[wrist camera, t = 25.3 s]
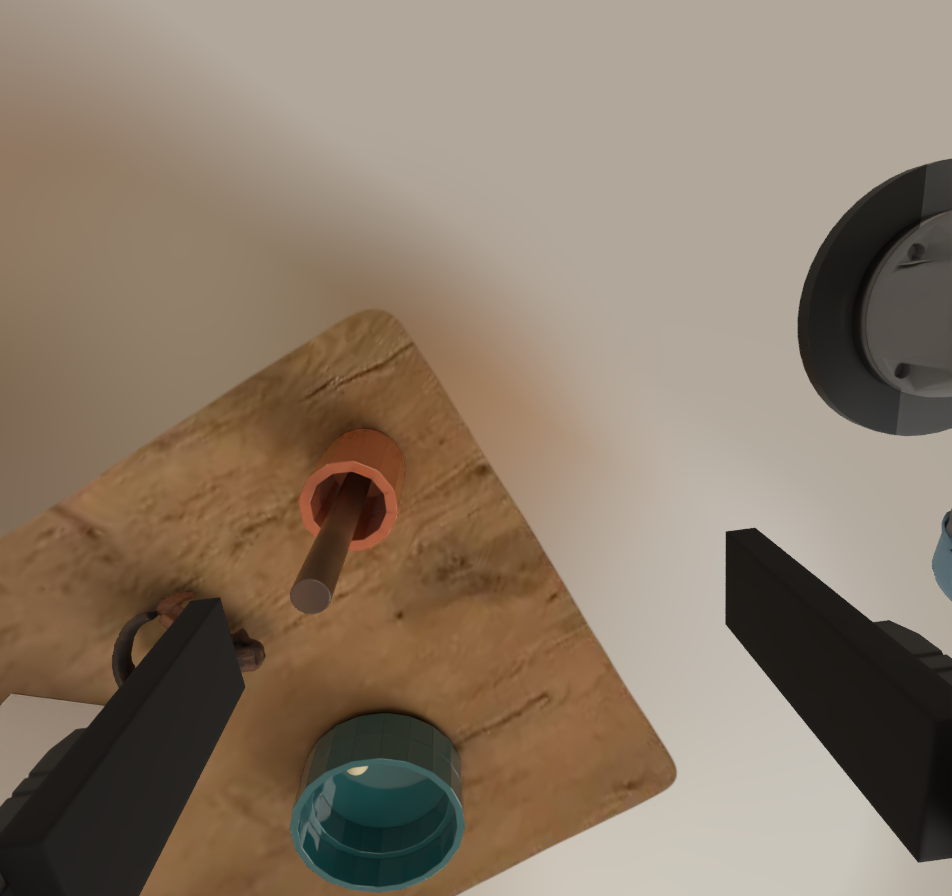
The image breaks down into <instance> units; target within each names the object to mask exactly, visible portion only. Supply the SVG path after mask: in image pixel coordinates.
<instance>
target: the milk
mask: <svg viewBox="0 0 952 896" xmlns="http://www.w3.org/2000/svg"><path fill="white" fill-rule="evenodd" d="M103 707H104V706H102V705H94V704H87V703H79V702H72V701H64V700H56V699H49V698H41V697H33V696H26V695H18V694H10V696H9V697H8V698H7V699H6V700H5V701H4V702H3V703H2V704H1V705H0V806H1V805H2V804H3V803H4V802H5V800H6V799H7V798H11V796H12V792H13V791H14V790H15V789H16V788H17V786H18V785H19V784H20V783H21V782H22V781H23V780H24V778H28V776H29V773H30V771H31V770H32V769H33V768H34V767H35V766H36V764H37V763H38V762H39V761H40V760H41V759H42V757H43V756H44V755H45V754H46V753H47V752H48V750H50V749H51V748H52V747H54V746H55V745H56V744H57V743H59V742H60V741H61V740H63V739H64V738H65V737H66V736H68V735H69V734H70V733H71V732H73V731H74V730H75V729H80V728H87V727H88V726H89V725H90V723H91V722H92V721H93V720H94V718H95V717H96V716H97V715H98V714H99V712H100V711H101V710H102V709H103Z"/></svg>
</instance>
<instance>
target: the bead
mask: <svg viewBox="0 0 952 896" xmlns="http://www.w3.org/2000/svg"><path fill="white" fill-rule="evenodd" d="M367 768H368V766H363V767H356V768H352V769H349V770H347V772H348V773H349V774H351V775H360V774H362V773H364V772H365V771H366V770H367Z"/></svg>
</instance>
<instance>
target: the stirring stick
mask: <svg viewBox="0 0 952 896" xmlns="http://www.w3.org/2000/svg"><path fill="white" fill-rule="evenodd" d="M371 482H372V479H370V478H367V477H365V476H362V475H360V474H357V473H355V472H348V473H347V475H346V477H345V479H344V481H343V483H342V485H341V488H340V490H339V492H338V494H337V496H336V498H335V500H334V502H333V504H332V506H331V508H330V510H329V512H328V514H327V516H326V518H325V521H324V523H323V525H322V527H321V529H320V531H319V533H318V535H317V537H316V539H315V541H314V543H313V545H312V547H311V549H310V551H309V554H308V556H307V558H306V560H305V562H304V564H303V566H302V568H301V570H300V572H299V574H298V576H297V578H296V580H295V582H294V584H293V587H292V589H291V592H290V598H291V601H292V604H293V605H294V606H295V608H297V609H298V610H299V611H301V612H303V613H307V614H316V613H319V612H322V611H323V610H325V609H326V608H327V607H328V606H329V604H330V602H331V599H332V596H333V593H334V590H335V587H336V584H337V581H338V578H339V576H340V573H341V570H342V567H343V564H344V561H345V558H346V555H347V552H348V549H349V546H350V543H351V541H352V538H353V535H354V532H355V529H356V526H357V523H358V520H359V517H360V514H361V511H362V508H363V506H364V503H365V500H366V497H367V494H368V491H369V488H370V485H371Z"/></svg>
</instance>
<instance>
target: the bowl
mask: <svg viewBox="0 0 952 896" xmlns="http://www.w3.org/2000/svg"><path fill="white" fill-rule="evenodd" d="M363 766H368V768H367V770H366V771H365V772H364V773H362V774H360V775H351V774H349V773H348V772H347V770H349V769H352V768H356V767H363ZM464 829H465V814H464V792H463V775H462V768H461V760H460V757H459V755H458V754H457V752H456V750H455V748H454V747H453V745H452V743H451V741H450V740H449V739H447V738H446V737H445V736H444V735H443V734H442V733H440V732H439V731H438V730H437V729H436V728H435V727H433V726H432V725H429V724H427V723H425V722H422V721H420V720H418V719H415V718H413V717H410V716H405V715H397V714H390V713H380V714H372V715H364V716H358V717H356V718H353V719H351V720H349V721H346V722H344V723H341V724H339V725H337V726H335V727H334V728H333V729H332V730H330V731H329V732H328V733H327V734H325V735H324V736H323V737H322V738H321V739H319V740H318V741H317V743H316V745H315V746H314V748H313V750H312V751H311V753H310V755H309V756H308V758H307V760H306V764H305V768H304V771H303V775H302V778H301V782H300V785H299V789H298V793H297V796H296V800H295V803H294V807H293V812H292V818H291V824H290V831H291V835H292V839H293V843H294V847H295V850H296V852H297V853H298V854H299V856H300V857H301V859H302V860H303V861H304V863H305V864H306V865H307V867H308V868H309V869H310V870H312V871H313V872H315V873H316V874H317V875H319V876H320V877H322V878H323V879H324V880H326V881H328V882H330V883H333V884H335V885H338V886H341V887H344V888H347V889H350V890H356V891H367V892H378V893H379V892H387V891H394V890H402V889H405V888H407V887H410V886H413V885H415V884H418V883H420V882H423V881H425V880H427V879H429V878H430V877H432V876H433V875H434V874H436V873H437V872H438V871H440V870H441V869H442V868H444V867H445V866H446V865H447V864H448V863H449V861H450V860H451V858H452V857H453V856H454V854H455V853H456V852H457V850H458V849H459V847H460V844H461V840H462V837H463V833H464Z"/></svg>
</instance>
